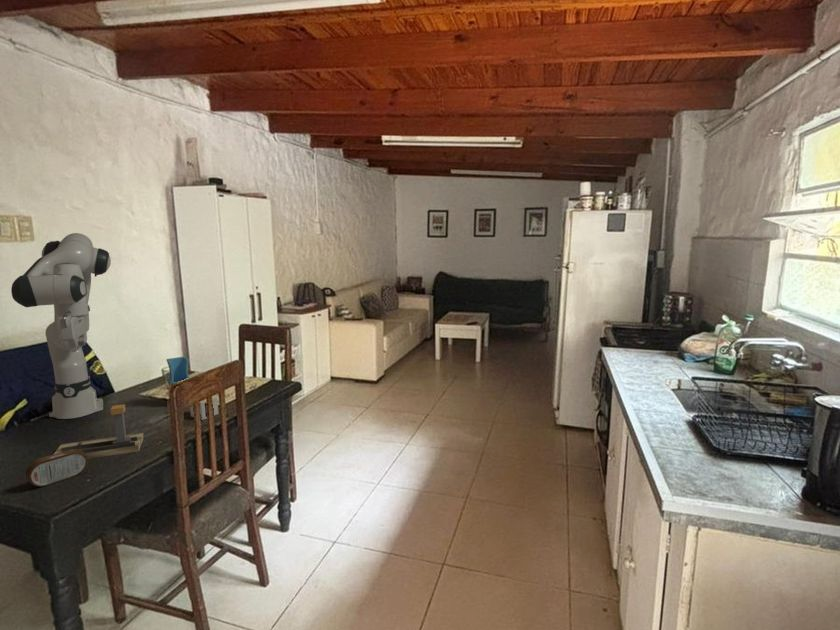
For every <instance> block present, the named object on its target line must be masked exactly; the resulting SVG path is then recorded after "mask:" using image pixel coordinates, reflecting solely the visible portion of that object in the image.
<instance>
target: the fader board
mask: <svg viewBox="0 0 840 630" xmlns="http://www.w3.org/2000/svg"><path fill="white" fill-rule="evenodd" d="M144 434H145V433H144V432H139V433H131V434H126V438H128V437H131V442H129V443H123V444H116V445H113V441H114V439H117V437H116V436H111V437H105V438H104V437H103V438H97V439H89V440H83V441H77V442H69V443H63V444H60V445H59V447H58V448H56V451H55V452H54V453H53V454H57V453H60V452H64V451H67V450H71V449H78V450H81V451H83V452H84V453H85V455H86V456H87V458H88V460H91V459H97V458H104V457H110V456H118V455H123V454H124V455H125V454H129V453H135V452H139V451H140V450H141V446H142V443H143V441H144V438H145V435H144Z"/></svg>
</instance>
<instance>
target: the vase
mask: <svg viewBox="0 0 840 630" xmlns="http://www.w3.org/2000/svg"><path fill="white" fill-rule="evenodd" d="M166 362H167V366H168V368H169V374H168V375H169V377H168V380H167V384H168V386H170V384H172V383H175V382H178V381H181V380H184V379H186V378H190V375H189V362H190V359H189V358H188V357H186V356H179V357H172V358H166Z"/></svg>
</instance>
